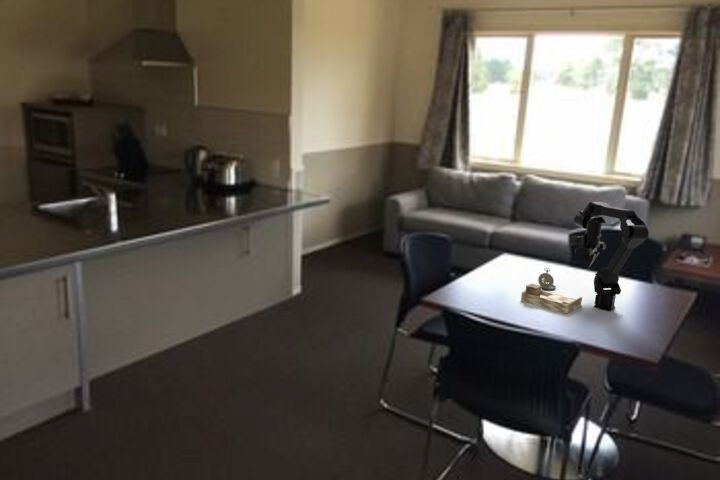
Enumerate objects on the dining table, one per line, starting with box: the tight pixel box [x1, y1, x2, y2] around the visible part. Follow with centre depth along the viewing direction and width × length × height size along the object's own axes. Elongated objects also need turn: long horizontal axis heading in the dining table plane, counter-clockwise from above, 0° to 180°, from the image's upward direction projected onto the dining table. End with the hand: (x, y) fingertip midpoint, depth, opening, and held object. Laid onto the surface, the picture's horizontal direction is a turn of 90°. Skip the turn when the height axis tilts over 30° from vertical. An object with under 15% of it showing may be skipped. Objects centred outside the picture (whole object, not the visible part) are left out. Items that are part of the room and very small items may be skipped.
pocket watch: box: [537, 267, 557, 291], centre depth 265 cm, size 8×8×10 cm
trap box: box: [520, 289, 583, 314], centre depth 247 cm, size 20×14×4 cm
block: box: [525, 283, 542, 297], centre depth 248 cm, size 4×4×4 cm
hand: (587, 267), depth 256 cm, fingers closed
